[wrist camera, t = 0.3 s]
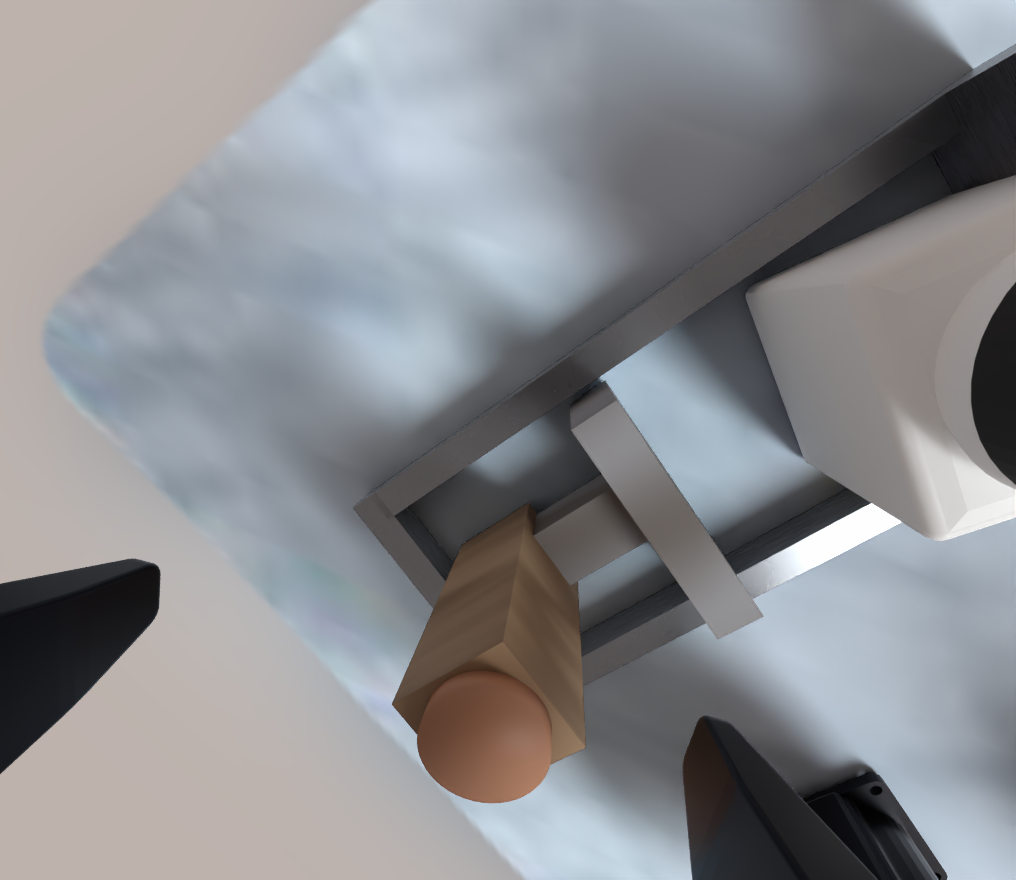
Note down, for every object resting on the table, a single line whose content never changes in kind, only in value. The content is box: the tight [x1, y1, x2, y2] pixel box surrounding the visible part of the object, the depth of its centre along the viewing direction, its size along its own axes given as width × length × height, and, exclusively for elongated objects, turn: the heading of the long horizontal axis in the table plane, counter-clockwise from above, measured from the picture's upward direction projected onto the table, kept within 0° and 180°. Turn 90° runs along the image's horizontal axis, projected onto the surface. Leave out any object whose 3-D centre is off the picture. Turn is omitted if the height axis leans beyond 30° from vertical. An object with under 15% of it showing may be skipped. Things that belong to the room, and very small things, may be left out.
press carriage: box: [392, 381, 763, 803], centre depth 16 cm, size 8×9×10 cm
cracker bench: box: [353, 44, 1016, 686], centre depth 16 cm, size 12×26×7 cm, turn 126°
